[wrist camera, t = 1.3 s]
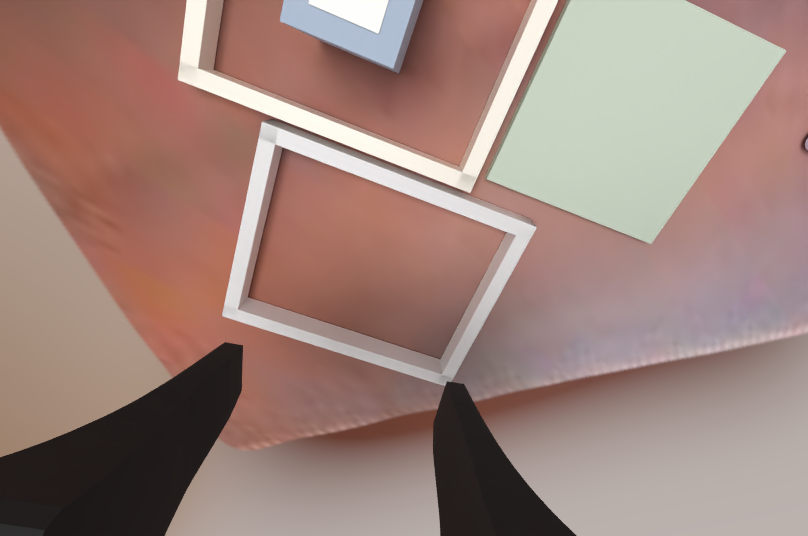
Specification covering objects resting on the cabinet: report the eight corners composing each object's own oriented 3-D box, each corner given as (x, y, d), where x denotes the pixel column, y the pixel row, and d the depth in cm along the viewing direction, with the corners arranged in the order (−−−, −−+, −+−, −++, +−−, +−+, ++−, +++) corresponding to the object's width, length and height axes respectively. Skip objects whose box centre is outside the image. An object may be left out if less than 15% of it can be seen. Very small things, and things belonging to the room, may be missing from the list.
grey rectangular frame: (529, 218, 22) (536, 227, 20) (446, 371, 26) (448, 387, 25) (272, 119, 20) (262, 121, 18) (232, 303, 24) (221, 316, 23)
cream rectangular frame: (582, -72, 16) (597, -86, 15) (466, 186, 21) (470, 192, 20) (237, -245, 14) (218, -280, 13) (194, 80, 19) (177, 79, 18)
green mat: (775, 51, 18) (786, 50, 17) (645, 240, 22) (651, 244, 22) (586, -42, 17) (592, -46, 16) (484, 176, 21) (486, 179, 20)
